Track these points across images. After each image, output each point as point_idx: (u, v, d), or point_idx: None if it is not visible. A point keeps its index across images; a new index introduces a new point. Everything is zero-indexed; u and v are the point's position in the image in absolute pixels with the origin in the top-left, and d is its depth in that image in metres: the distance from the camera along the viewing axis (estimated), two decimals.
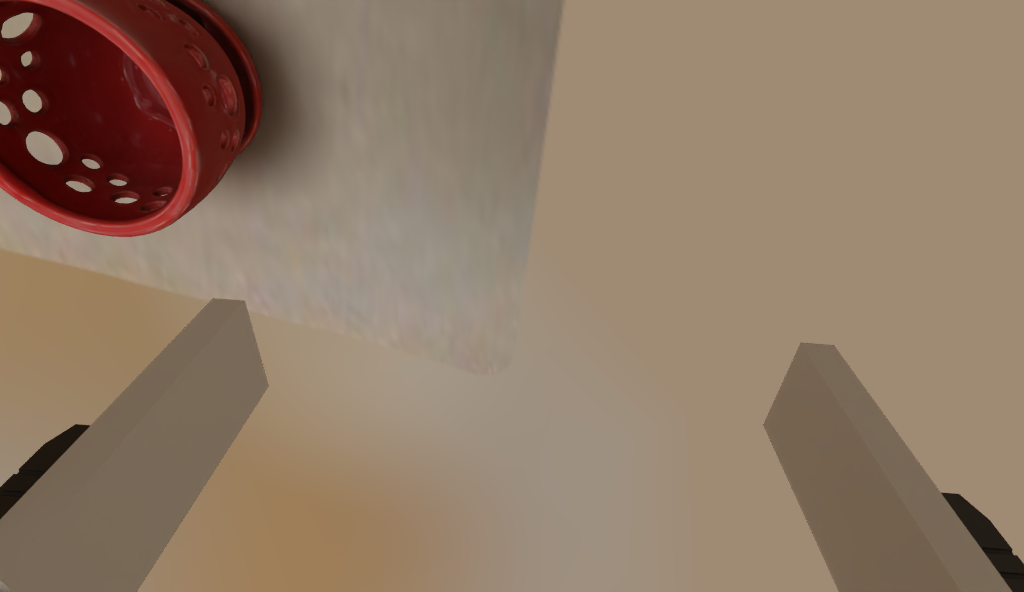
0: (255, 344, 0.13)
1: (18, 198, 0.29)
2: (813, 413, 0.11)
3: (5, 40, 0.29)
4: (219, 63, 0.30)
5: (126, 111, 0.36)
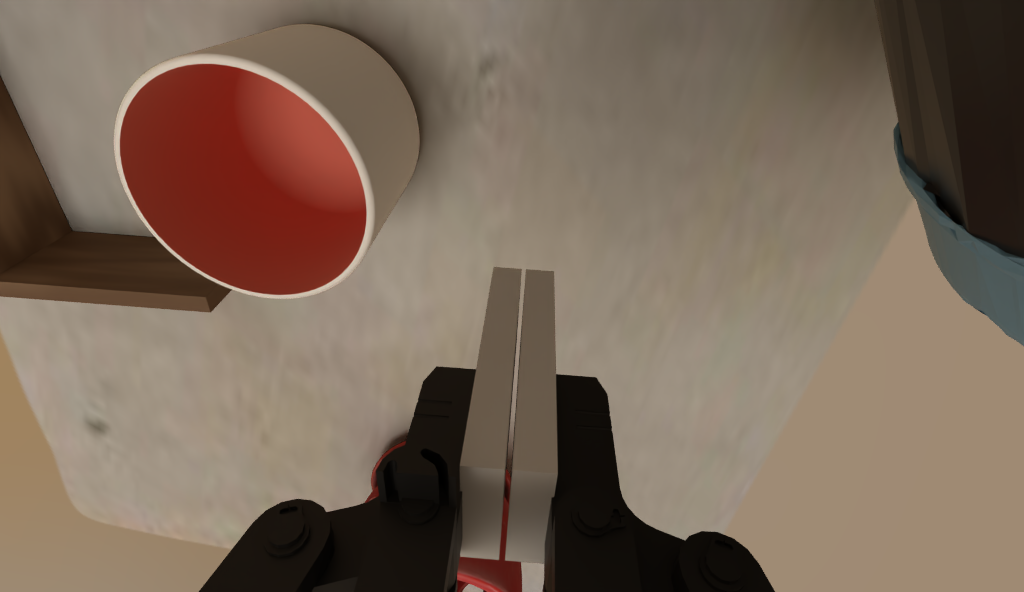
0: None
1: None
2: None
3: None
4: None
5: None
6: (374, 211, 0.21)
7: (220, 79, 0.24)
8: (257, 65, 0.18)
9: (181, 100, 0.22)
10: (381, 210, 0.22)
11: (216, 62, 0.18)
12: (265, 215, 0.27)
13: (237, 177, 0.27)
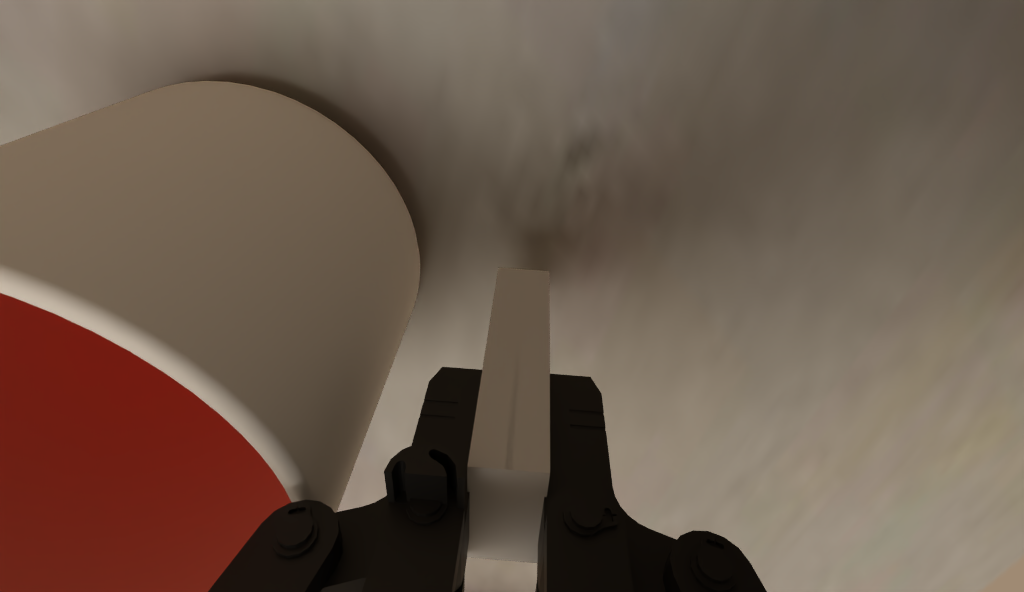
0: None
1: None
2: None
3: None
4: None
5: None
6: None
7: None
8: None
9: None
10: (339, 495, 0.10)
11: None
12: (154, 397, 0.16)
13: None
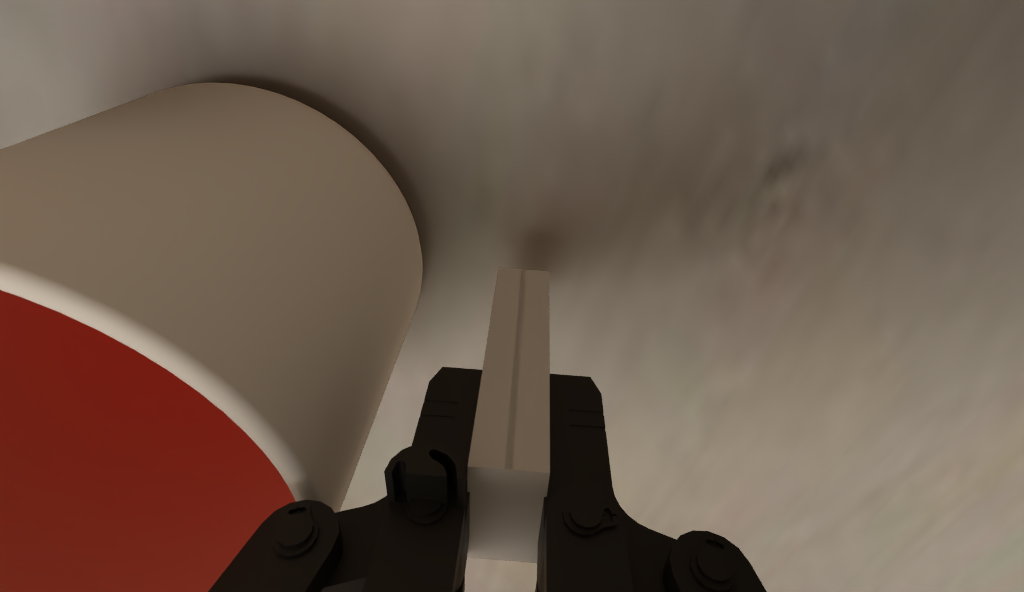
0: None
1: None
2: None
3: None
4: None
5: None
6: None
7: None
8: None
9: None
10: (343, 494, 0.10)
11: None
12: (159, 396, 0.16)
13: None
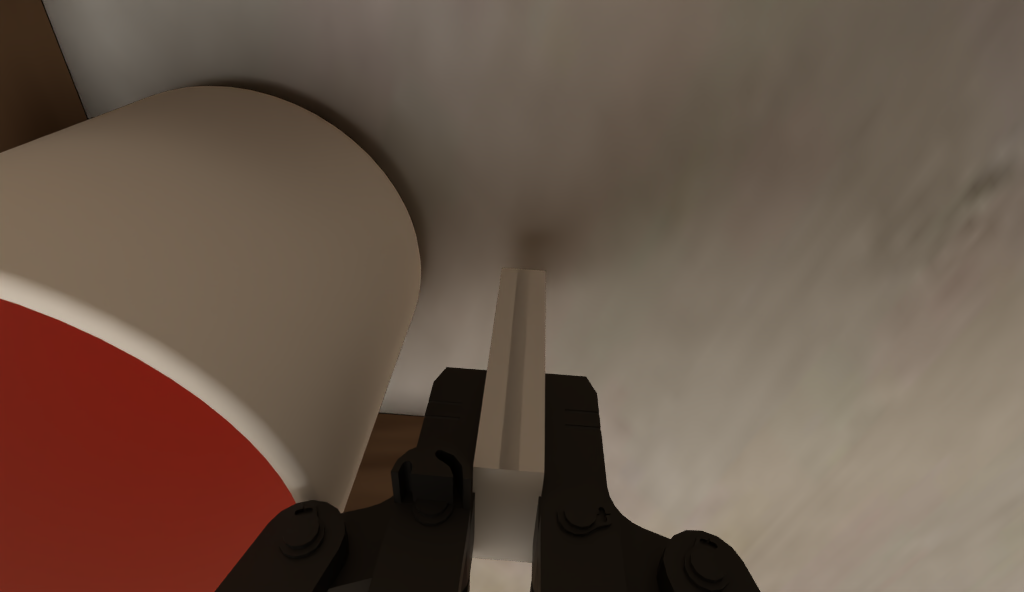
0: None
1: None
2: None
3: None
4: None
5: None
6: None
7: None
8: None
9: None
10: (344, 500, 0.10)
11: None
12: (155, 402, 0.16)
13: (103, 341, 0.16)
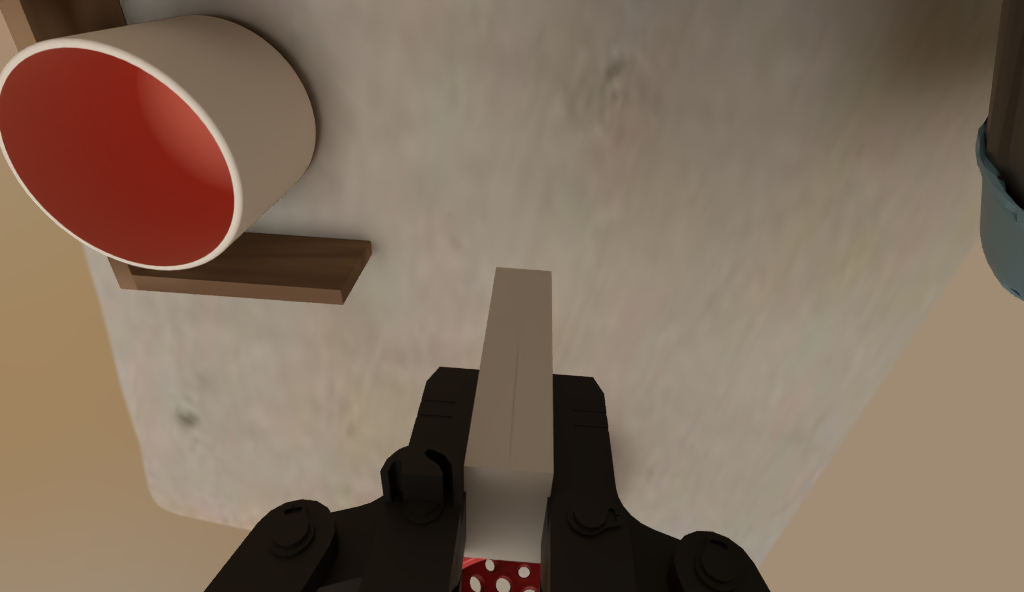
0: None
1: None
2: None
3: None
4: None
5: None
6: (241, 187, 0.22)
7: (116, 65, 0.26)
8: (116, 49, 0.19)
9: (69, 83, 0.24)
10: (253, 187, 0.23)
11: (78, 46, 0.19)
12: (167, 195, 0.29)
13: (139, 159, 0.29)
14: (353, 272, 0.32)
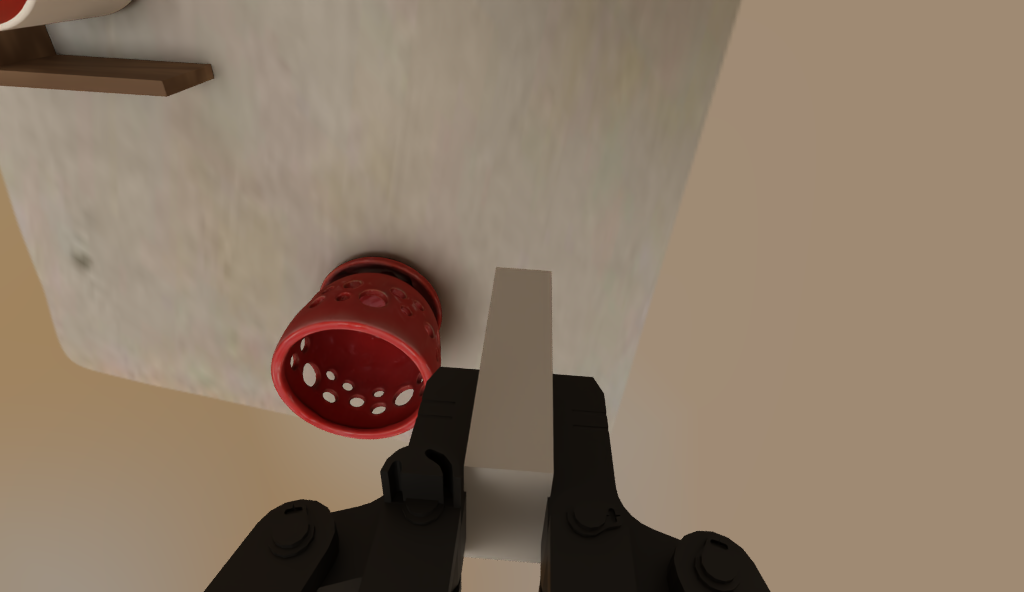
0: None
1: (307, 420, 0.44)
2: None
3: None
4: (435, 324, 0.45)
5: (346, 330, 0.50)
6: None
7: None
8: None
9: None
10: None
11: None
12: None
13: None
14: (182, 76, 0.37)
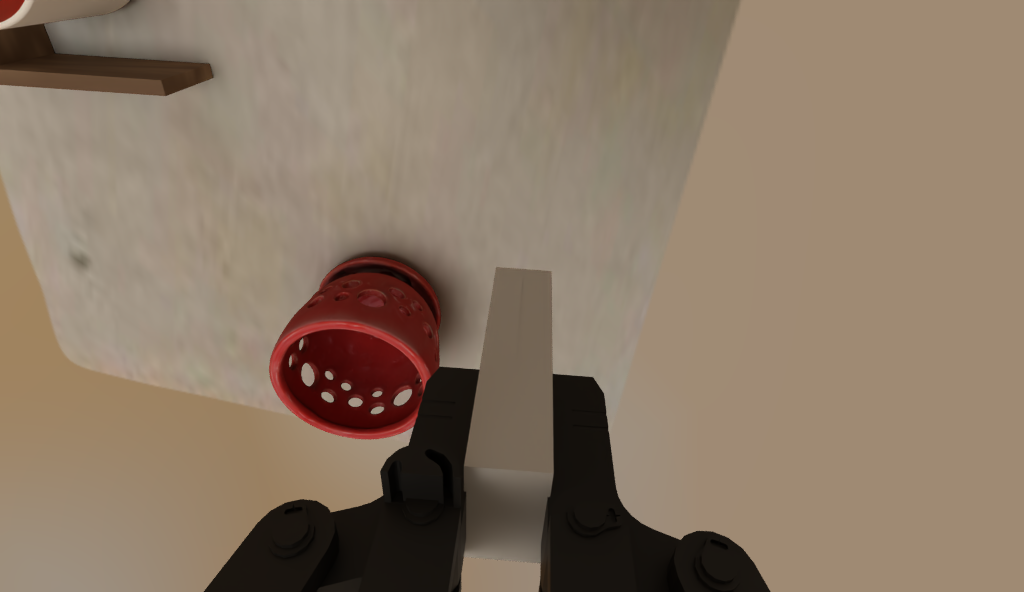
0: None
1: (305, 420, 0.44)
2: None
3: None
4: (433, 324, 0.45)
5: (344, 330, 0.50)
6: None
7: None
8: None
9: None
10: None
11: None
12: None
13: None
14: (181, 76, 0.37)
